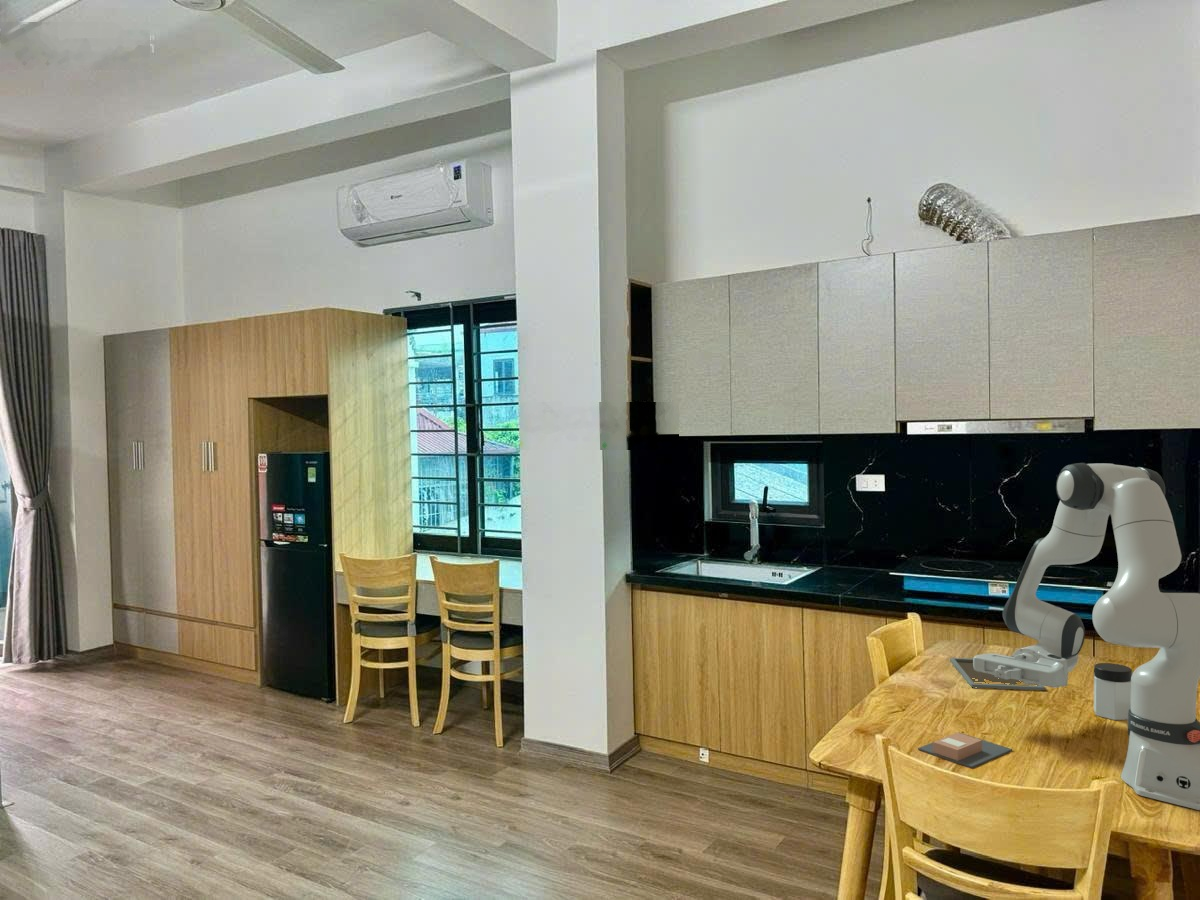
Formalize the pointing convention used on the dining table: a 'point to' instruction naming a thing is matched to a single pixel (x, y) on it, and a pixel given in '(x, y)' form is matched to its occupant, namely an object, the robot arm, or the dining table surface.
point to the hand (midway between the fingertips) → (1000, 674)
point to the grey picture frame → (986, 677)
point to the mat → (976, 759)
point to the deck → (957, 746)
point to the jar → (1112, 690)
